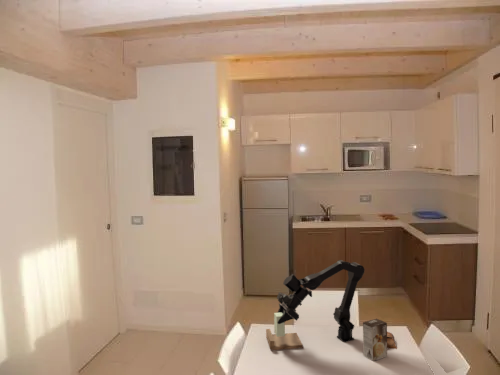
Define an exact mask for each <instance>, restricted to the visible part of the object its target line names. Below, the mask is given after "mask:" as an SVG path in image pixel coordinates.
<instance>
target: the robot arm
mask: <svg viewBox="0 0 500 375" xmlns="http://www.w3.org/2000/svg"><path fill="white" fill-rule="evenodd" d="M343 270H344V271H347V278H348V279H347V281H346V282H347V283H346V286H345V290H344V293H343V296H342V300H341V302H340V305H339V306H338V307H335V308H334V312H333V314H332V315H333V320H334V321H336V322H337V324H338V325H339V326H338V329H337V336H336V338H337V339H339V340H341V341H342V342H344V343H346V342H349V341H353V340H355V337H353V330H354V329H355V324H354V323H352V322H351V306H352V303H353V300H354V299H353V298H354V296H355V292H356V288H357V287H358V286H357V285H358V282H360V280H362V278H363V276H364V274H365V271H366V270H365V267H364V266H363V265H361V264H359V263H357V262H355V261H352V262H349V261H344V260H342V259H339V260H337V262H334V263H333V264H330V265H329V266H328V267H325V268H324V269H323V270H320V271H319V272H315V273H311V274H309V275H306V276H305V277H303V278H298V277H296V276H295V274H293V273H292V274H291V275H289V276H287V277H286V278H284V280H283V285H284V286H285V287H286V288H287V289H288V290H289V291H291V292H293V293H290V294H289V295H287V294H286V293H283V292H278V294H277V297H276V299H277V301H278V311H276V313H279V312H282V313H283V315H282V316H281V318H280V319H279V321H278V324H281V323H283V322H288V321H291V320H294V321H296V322H297V321H298V320H299V319H300V314H298V312H297V310H296V309H297V308H299V306H302V302H303V301H304V300H305V299H306V298H307V297H308V296H309V297H310V298H312V297H313V291H314V290H317V288H319V287H320V286H321V285H322V284H323V282H324V281H326V280H327V279H329V278H331V277H333V276H335V275H336V274H338V273H340V272H341V271H343ZM302 286H303V287H302Z"/></svg>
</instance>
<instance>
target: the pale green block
mask: <svg viewBox="0 0 500 375" xmlns="http://www.w3.org/2000/svg"><path fill="white" fill-rule="evenodd" d="M282 315H283V313H282V312H279V313H277V312H273V323H274V324H273V326H274V327H273V328H274V333H273V334H276V336H277V337H280V336H285V334H286V327H285V326H286V325H285V324H286V323H285V322H283V323H281V324H278V321H279V319H280V318H281V316H282Z"/></svg>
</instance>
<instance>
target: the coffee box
mask: <svg viewBox="0 0 500 375" xmlns="http://www.w3.org/2000/svg"><path fill="white" fill-rule="evenodd" d="M387 324H388V323H387V321H383V320H382V319H379V318H374V319H370V320H367V321H363V322H362V337H363V338H362V340H363V341H362V342H363V343H362V345H363V346H362V347H363V348H362V349H363V354H362V355H363V357H365V358H367V359H369V360H371V361H372V362H374V361H378V360H381V359H383V358H386V357H388V348H387V332H388V325H387Z"/></svg>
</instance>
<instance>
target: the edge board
mask: <svg viewBox="0 0 500 375" xmlns="http://www.w3.org/2000/svg"><path fill="white" fill-rule="evenodd" d="M265 332H266V333H265V335H266V336H265V337H266V341H267V344H268V347H269V350H270V351H275V350H276V351H277V350H278V351H279V350H291V349H292V350H293V349H303V348H304V346H303V345H304V344H303V343H302V341H301V339H300V337H299V335H298V333H297V332H289V333H286V332H285V336H280V337H277V336H276V334H275V333H273V334H272V331H271V329H270V328H266V329H265Z"/></svg>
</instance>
